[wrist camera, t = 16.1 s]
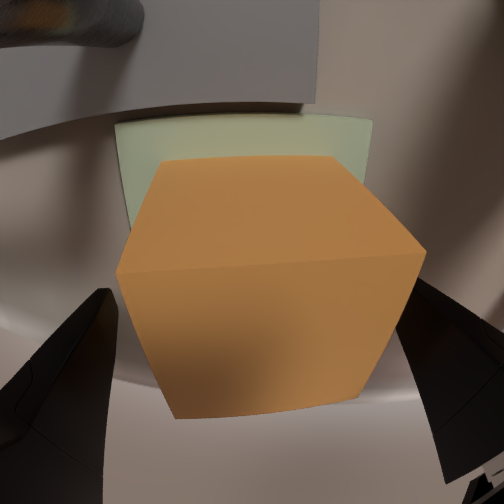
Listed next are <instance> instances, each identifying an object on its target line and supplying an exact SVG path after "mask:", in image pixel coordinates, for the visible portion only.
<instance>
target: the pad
mask: <svg viewBox="0 0 504 504" xmlns="http://www.w3.org/2000/svg"><path fill="white" fill-rule="evenodd" d="M372 125H373V121H371V120H369V119H362V118H353V117H344V116H332V115H320V114H303V113H277V112H231V113H205V114H188V115H175V116H164V117H155V118H146V119H138V120H130V121H123V122H117V123H116V124H115V125H114V126H115V134H116V142H117V150H118V157H119V164H120V171H121V177H122V183H123V189H124V195H125V200H126V205H127V211H128V216H129V221H130V226H131V230H132V227H133V225H134V222H135V220H136V217H137V215H138V212H139V210H140V208H141V205H142V203H143V201H144V198H145V196H146V194H147V191H148V189H149V187H150V185H151V182H152V180H153V178H154V176H155V174H156V171H157V169H158V167H159V165H160V163H161V161H170V160H182V159H196V158H212V157H232V156H267V155H309V156H333V157H334V158H335V159H336V160H337V161H338V162H339V163H340V164H341V165H343V166H344V167H345V168H346V169H347V170H348V171H349V172H350V173H351V174H352V175H353V176H354V177H356V178H357V179H358V180H359V181H360V182H361V183H362V184H364V178H365V172H366V166H367V160H368V154H369V147H370V140H371V133H372Z"/></svg>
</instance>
